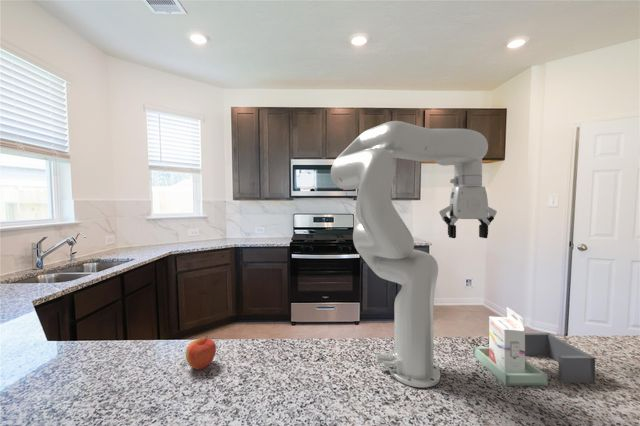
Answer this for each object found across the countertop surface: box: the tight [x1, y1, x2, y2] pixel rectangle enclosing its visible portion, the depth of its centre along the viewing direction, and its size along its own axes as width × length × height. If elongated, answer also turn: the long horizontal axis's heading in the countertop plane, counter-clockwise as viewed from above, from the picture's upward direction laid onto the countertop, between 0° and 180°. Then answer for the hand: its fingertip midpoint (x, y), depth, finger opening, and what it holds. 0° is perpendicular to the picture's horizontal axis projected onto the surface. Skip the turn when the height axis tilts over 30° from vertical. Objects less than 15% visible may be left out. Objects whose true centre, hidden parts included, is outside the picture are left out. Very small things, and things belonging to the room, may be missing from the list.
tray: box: [472, 346, 548, 387], centre depth 69 cm, size 10×13×2 cm
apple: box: [185, 335, 217, 371], centre depth 70 cm, size 7×7×8 cm
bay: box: [525, 332, 596, 384], centre depth 70 cm, size 8×13×6 cm, turn 0°
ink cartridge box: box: [488, 306, 526, 373], centre depth 69 cm, size 9×5×15 cm, turn 171°
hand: (467, 237), depth 82 cm, fingers open, 9 cm apart
